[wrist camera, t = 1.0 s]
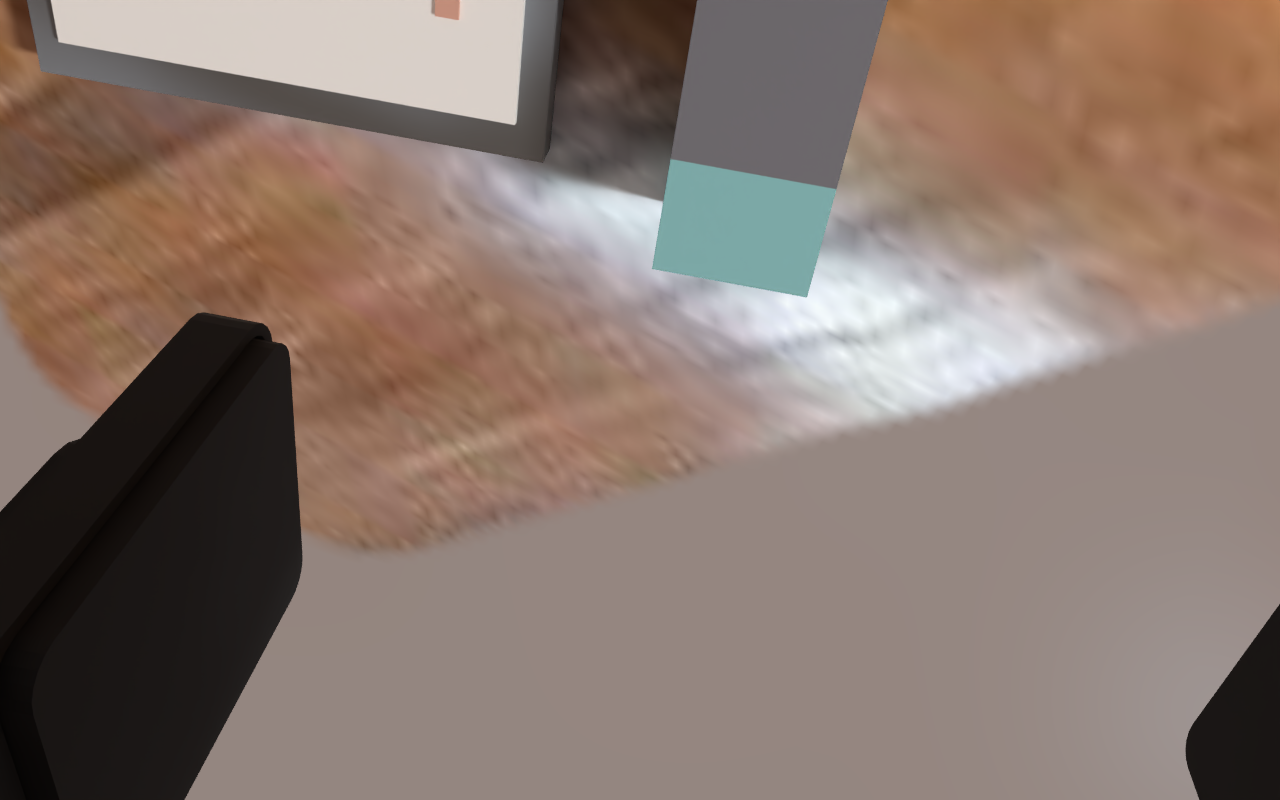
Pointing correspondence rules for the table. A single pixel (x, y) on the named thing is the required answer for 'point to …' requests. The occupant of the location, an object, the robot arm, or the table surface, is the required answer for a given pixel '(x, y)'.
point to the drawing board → (330, 61)
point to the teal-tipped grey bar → (763, 137)
